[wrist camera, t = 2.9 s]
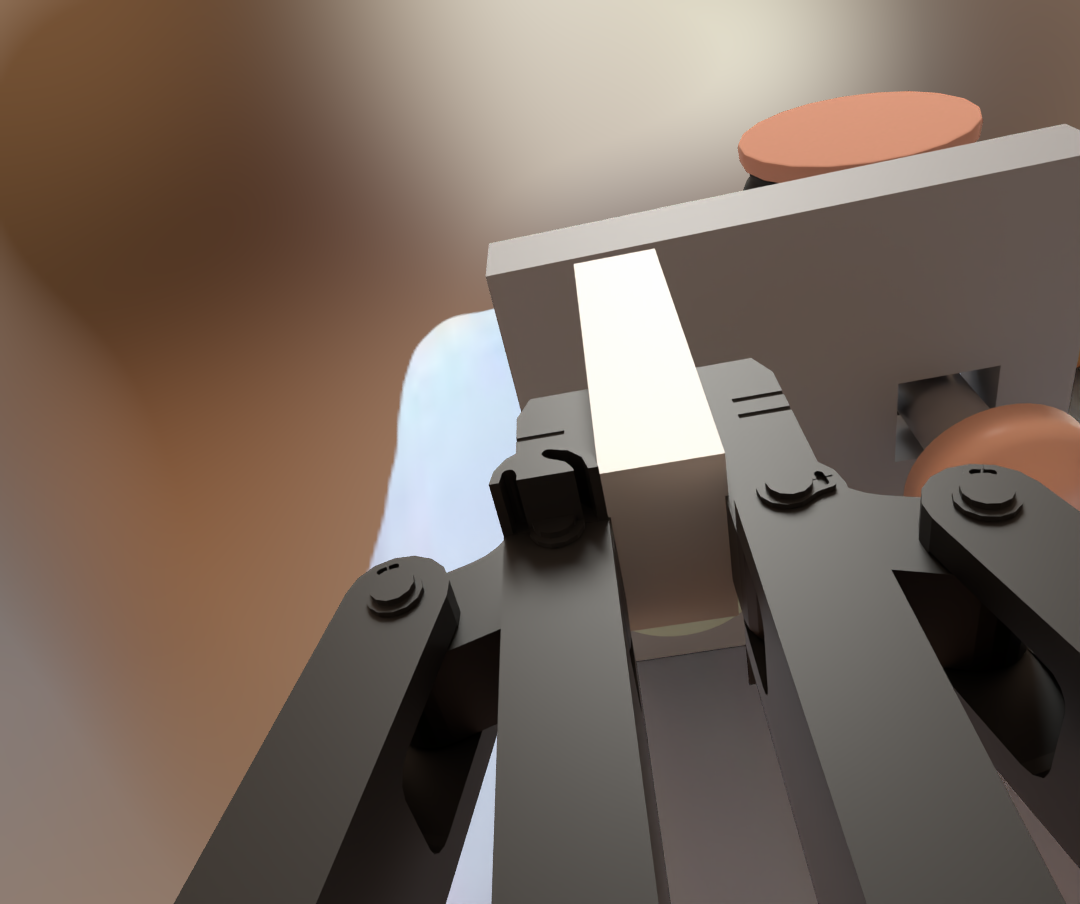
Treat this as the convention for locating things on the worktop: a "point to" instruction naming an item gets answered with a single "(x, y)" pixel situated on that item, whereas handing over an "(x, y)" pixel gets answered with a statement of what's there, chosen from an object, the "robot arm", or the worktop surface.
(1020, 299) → the panel
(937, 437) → the terracotta button
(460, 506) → the worktop surface
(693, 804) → the worktop surface
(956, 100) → the coffee jar
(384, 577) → the robot arm
